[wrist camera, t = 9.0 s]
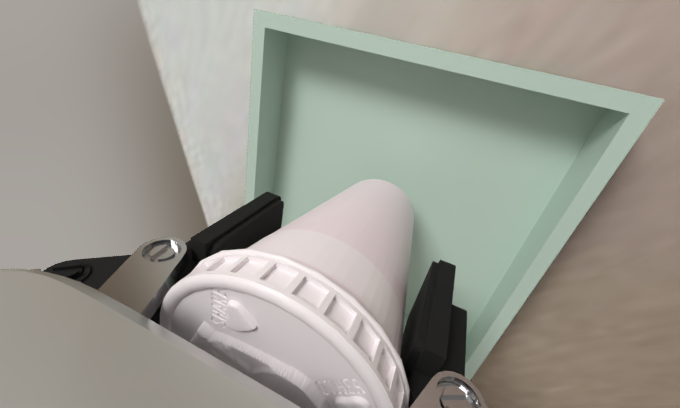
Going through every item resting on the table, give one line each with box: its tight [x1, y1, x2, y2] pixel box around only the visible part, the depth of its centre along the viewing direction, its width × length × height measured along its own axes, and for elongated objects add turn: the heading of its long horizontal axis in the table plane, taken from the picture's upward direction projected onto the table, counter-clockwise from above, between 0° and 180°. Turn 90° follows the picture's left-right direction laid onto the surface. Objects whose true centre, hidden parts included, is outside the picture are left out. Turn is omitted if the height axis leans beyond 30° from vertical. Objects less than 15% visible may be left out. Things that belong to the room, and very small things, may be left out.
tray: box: [245, 9, 665, 380], centre depth 16 cm, size 15×15×3 cm
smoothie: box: [160, 179, 414, 408], centre depth 9 cm, size 6×6×14 cm
